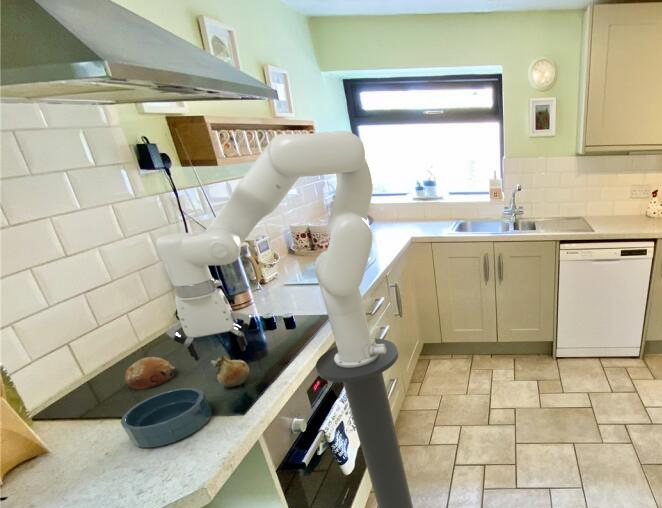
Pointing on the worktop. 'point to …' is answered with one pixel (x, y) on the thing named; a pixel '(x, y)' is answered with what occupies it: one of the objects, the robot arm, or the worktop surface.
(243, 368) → the onion
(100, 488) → the worktop surface
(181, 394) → the bowl
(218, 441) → the worktop surface
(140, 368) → the bread roll
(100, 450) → the worktop surface
